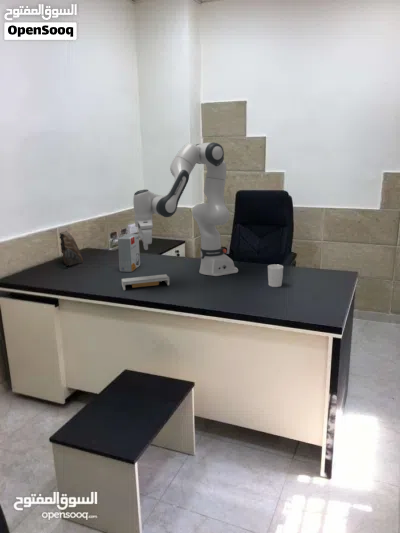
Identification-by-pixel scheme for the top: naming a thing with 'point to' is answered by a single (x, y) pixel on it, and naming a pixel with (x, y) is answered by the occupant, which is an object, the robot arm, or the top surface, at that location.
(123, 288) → the duct
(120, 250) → the hard drive box
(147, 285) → the wooden block
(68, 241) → the owl
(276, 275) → the white cup
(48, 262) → the top surface
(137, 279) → the panel
